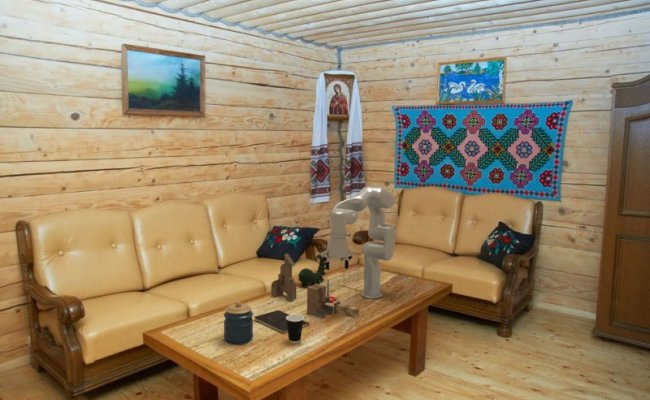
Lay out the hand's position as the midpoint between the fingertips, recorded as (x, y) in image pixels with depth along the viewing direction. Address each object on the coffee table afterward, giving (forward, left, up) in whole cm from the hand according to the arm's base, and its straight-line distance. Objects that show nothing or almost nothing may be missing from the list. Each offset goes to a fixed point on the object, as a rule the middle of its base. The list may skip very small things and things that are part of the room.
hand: (336, 269), depth 252 cm
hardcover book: (+24, -16, -26) cm, 39 cm away
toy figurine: (-36, -43, -25) cm, 61 cm away
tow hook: (-19, -18, -25) cm, 36 cm away
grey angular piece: (+2, -8, -25) cm, 26 cm away
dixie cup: (+37, +3, -25) cm, 45 cm away
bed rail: (-6, +3, -25) cm, 26 cm away
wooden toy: (-6, -39, -25) cm, 47 cm away
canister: (+51, -18, -25) cm, 60 cm away
